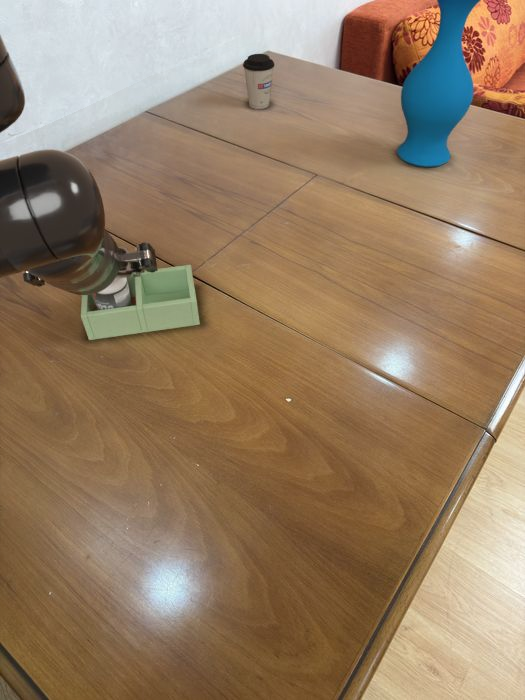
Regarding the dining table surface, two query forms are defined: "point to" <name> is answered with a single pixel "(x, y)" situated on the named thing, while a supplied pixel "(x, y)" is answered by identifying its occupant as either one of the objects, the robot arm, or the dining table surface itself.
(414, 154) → the vase
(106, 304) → the pill bottle
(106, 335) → the holder
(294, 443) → the dining table surface
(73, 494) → the dining table surface
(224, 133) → the dining table surface
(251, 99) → the coffee cup
